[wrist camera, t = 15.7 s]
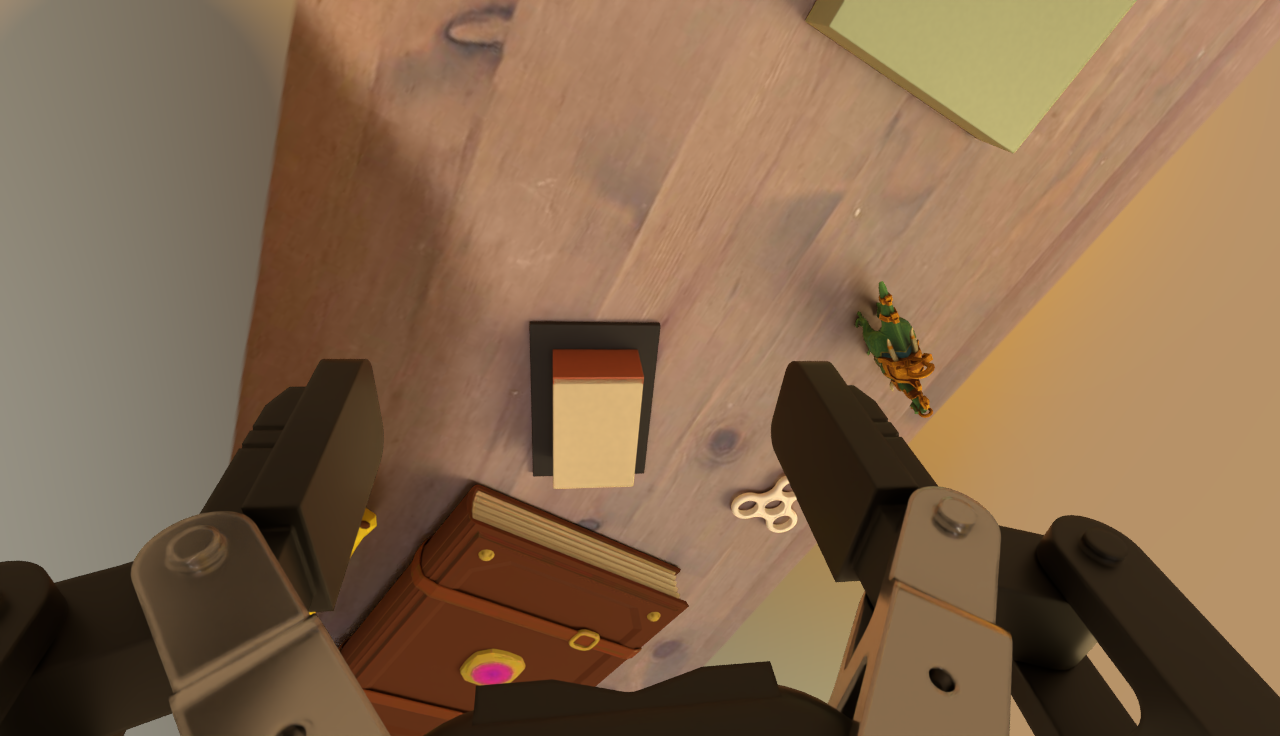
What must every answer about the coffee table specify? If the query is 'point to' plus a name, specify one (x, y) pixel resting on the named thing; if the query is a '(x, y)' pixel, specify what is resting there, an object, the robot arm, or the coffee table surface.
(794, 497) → the fidget spinner
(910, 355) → the figurine
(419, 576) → the book
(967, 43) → the bottom book
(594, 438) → the top book
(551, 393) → the felt pad
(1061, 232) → the coffee table surface
